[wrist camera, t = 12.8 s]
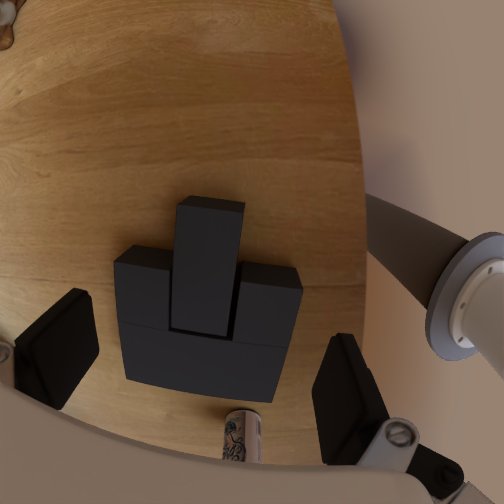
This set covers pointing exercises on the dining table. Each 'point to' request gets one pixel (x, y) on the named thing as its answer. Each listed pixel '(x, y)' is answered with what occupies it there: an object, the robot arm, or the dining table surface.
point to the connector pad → (205, 263)
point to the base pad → (202, 344)
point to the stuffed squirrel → (7, 21)
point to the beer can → (242, 437)
